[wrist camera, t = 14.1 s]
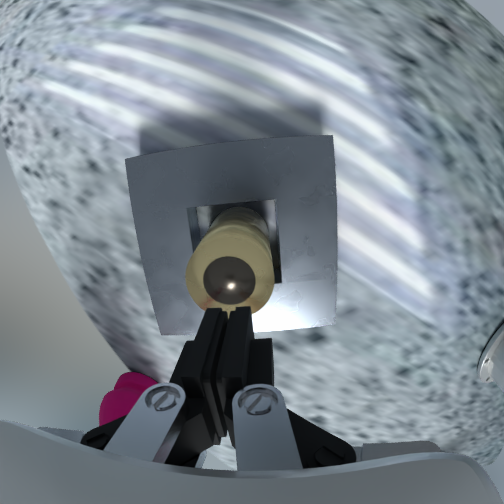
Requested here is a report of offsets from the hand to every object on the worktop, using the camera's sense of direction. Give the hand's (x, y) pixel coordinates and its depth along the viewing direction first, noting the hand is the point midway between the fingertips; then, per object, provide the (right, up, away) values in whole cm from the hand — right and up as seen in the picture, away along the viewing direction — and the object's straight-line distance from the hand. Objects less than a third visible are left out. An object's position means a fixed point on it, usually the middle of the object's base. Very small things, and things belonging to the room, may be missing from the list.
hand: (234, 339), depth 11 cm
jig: (0, +5, +13) cm, 14 cm away
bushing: (0, +5, +13) cm, 14 cm away
